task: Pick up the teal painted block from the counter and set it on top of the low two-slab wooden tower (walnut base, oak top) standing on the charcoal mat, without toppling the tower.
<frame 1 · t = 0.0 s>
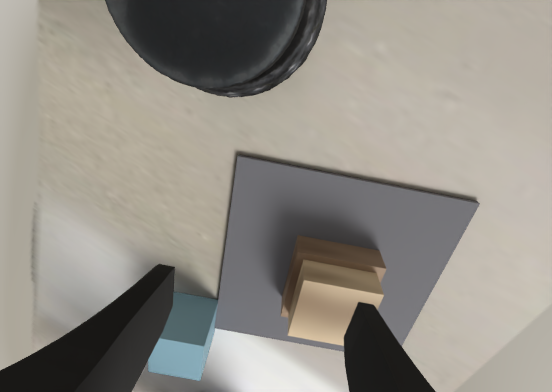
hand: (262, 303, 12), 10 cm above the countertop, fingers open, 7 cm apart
mat: (327, 272, 24), on the countertop
block: (193, 312, 27), on the countertop
tower mid: (330, 293, 22), point 2 cm above the countertop, touching tower base
pill bottle: (258, 14, 17), on the countertop
tower base: (328, 274, 24), resting on mat, touching tower mid
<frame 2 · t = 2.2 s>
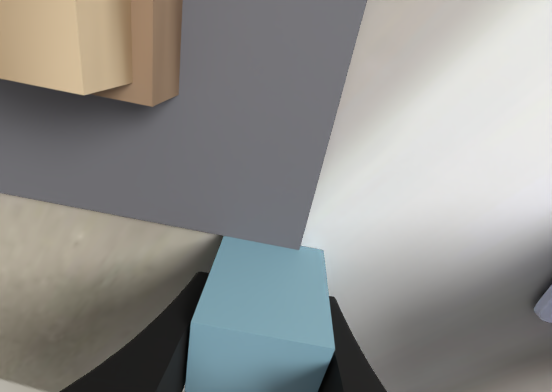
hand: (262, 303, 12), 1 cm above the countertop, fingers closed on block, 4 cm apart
block: (266, 278, 13), on the countertop, touching gripper
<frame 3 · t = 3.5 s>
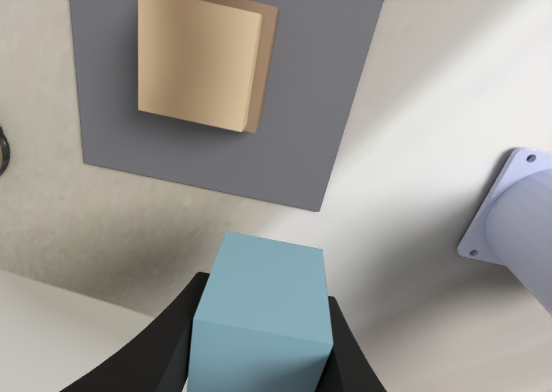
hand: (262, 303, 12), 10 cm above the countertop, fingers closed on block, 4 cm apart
mat: (217, 60, 18), on the countertop
block: (266, 277, 14), point 8 cm above the countertop, touching gripper
tower mid: (206, 62, 16), point 2 cm above the countertop, touching tower base
tower base: (216, 60, 17), resting on mat, touching tower mid
when the fingers open (7 cm above the countertop, at t = 5.1 s): block stays where it is, resting on tower mid.
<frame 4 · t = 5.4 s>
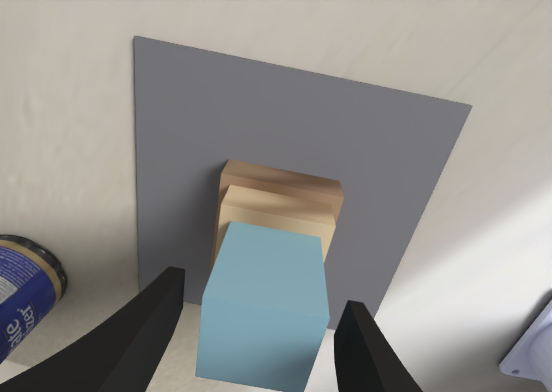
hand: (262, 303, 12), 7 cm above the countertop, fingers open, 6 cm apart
mat: (274, 214, 18), on the countertop
block: (268, 264, 15), point 4 cm above the countertop, touching tower mid
tower mid: (271, 236, 16), point 2 cm above the countertop, touching block, tower base
pill bottle: (28, 266, 22), on the countertop
tower base: (274, 217, 18), resting on mat, touching tower mid
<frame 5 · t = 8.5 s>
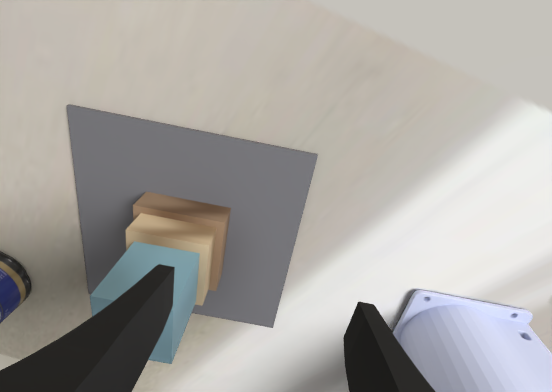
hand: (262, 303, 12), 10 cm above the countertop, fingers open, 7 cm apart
mat: (187, 232, 24), on the countertop
block: (166, 272, 20), point 4 cm above the countertop, touching tower mid
tower mid: (177, 250, 21), point 2 cm above the countertop, touching block, tower base
tower base: (186, 234, 23), resting on mat, touching tower mid
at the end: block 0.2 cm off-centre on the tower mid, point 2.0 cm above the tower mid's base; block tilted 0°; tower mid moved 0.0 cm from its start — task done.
